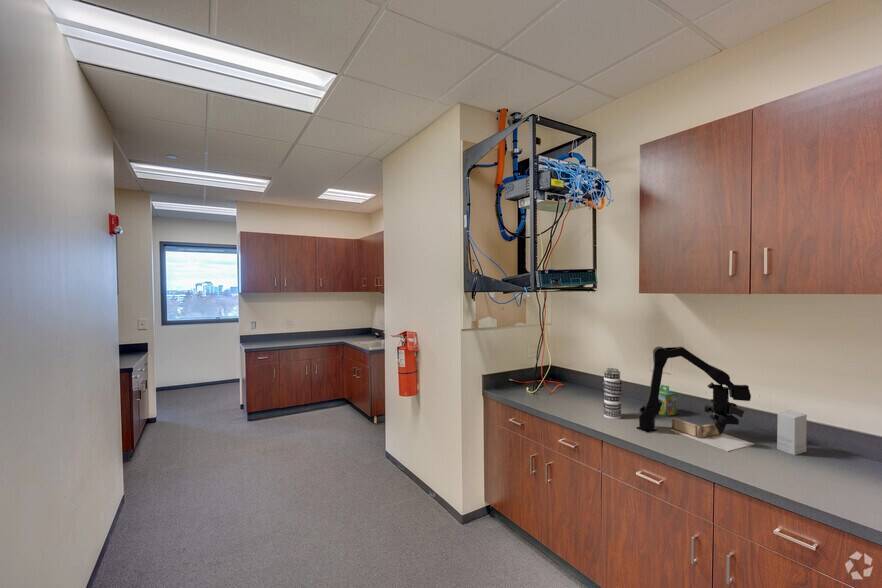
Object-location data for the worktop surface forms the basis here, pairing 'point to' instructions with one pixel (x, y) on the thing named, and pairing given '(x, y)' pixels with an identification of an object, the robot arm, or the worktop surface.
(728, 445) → the fence post and layout card
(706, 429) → the folding fence panel
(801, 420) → the skincare box
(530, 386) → the worktop surface
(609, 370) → the decorative candle
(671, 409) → the chalk box
